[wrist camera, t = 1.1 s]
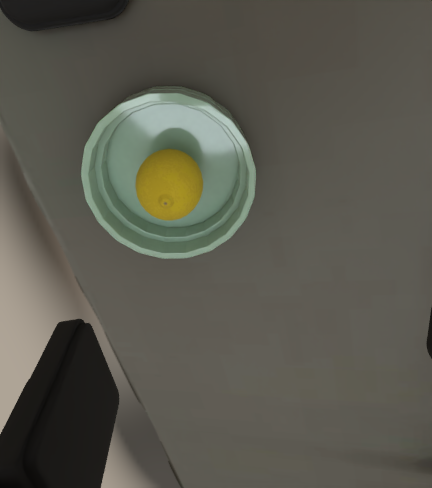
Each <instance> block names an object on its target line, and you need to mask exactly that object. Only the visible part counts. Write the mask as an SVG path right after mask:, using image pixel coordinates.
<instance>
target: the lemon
mask: <svg viewBox="0 0 432 488" xmlns="http://www.w3.org/2000/svg"><path fill="white" fill-rule="evenodd" d="M135 187H136V193H137V197H138V199H139V202H140V204H141V205H142V207H143V208H144V209H145V211H146V212H148V213H149V214H150V215H152V216H153V217H155V218H158V219H161V220H165V221H173V220H177V219H181V218H183V217H185V216H187V215H188V214H189V213H190V212H191V211H192V210H194V208H195V207H196V205H197V204H198V202H199V200H200V198H201V195H202V192H203V178H202V173H201V171H200V168H199V166H198V164H197V163H196V162H195V161H194V160H193V158H192V157H190V156H189V155H188V154H186V153H185V152H182V151H180V150H176V149H163V150H159V151H157V152H154V153H152V154H151V155H150V156H148V157H147V158H146V159H145V160H144V162H143V163H142V164H141V166H140V168H139V170H138V173H137V175H136V184H135Z"/></svg>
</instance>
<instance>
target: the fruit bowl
mask: <svg viewBox="0 0 432 488" xmlns="http://www.w3.org/2000/svg"><path fill="white" fill-rule="evenodd" d="M163 149H176V150H180V151H182V152H185V153H186V154H188V155H189V156H190V157H192V158H193V160H194V161H195V162H196V163H197V164H198V166H199V168H200V171H201V173H202V178H203V192H202V195H201V198H200V200H199V202H198V204H197V205H196V207H195V208H194V210H192V211H191V212H190V213H189V214H188V215H187V216H185V217H183V218H181V219H177V220H173V221H165V220H161V219H158V218H155V217H153V216H152V215H150V214H149V213H148V212H146V211H145V209H144V208H143V207H142V205H141V204H140V202H139V199H138V197H137V193H136V187H135V184H136V175H137V173H138V170H139V168H140V166H141V164H142V163H143V162H144V160H145V159H146V158H147V157H148V156H150V155H151V154H152V153H154V152H157V151H159V150H163ZM81 178H82V183H83V188H84V194H85V199H86V201H87V203H88V205H89V206H90V208H91V210H92V212H93V214H94V216H95V217H96V219H97V221H98V222H99V224H100V225H101V226H102V227H103V228H104V229H105V230H106V231H107V232H108V233H109V234H110V235H112V236H113V237H114V238H115V239H116V240H117V241H118V242H120V243H122V244H124V245H126V246H127V247H129V248H131V249H133V250H135V251H136V252H139V253H142V254H146V255H150V256H154V257H158V258H163V259H170V258H189V257H192V256H196V255H199V254H202V253H206V252H209V251H211V250H213V249H214V248H216V247H217V246H219V245H220V244H222V243H223V242H225V241H227V240H228V239H230V238H231V237H232V235H233V234H234V233H235V232H236V231H237V229H238V228H239V227H240V226H241V225H242V223H243V222H244V221H245V219H246V218H247V215H248V212H249V210H250V207H251V205H252V202H253V200H254V197H255V183H256V169H255V165H254V162H253V158H252V155H251V151H250V148H249V145H248V142H247V140H246V137H245V135H244V132H243V131H242V129H241V128H240V126H239V125H238V123H237V122H236V120H235V119H234V118H233V116H232V115H231V113H230V112H229V111H228V110H227V109H226V108H224V107H223V106H222V105H220V104H219V103H218V102H216V101H215V100H214V99H212V98H211V97H210V96H208V95H207V94H204V93H201V92H198V91H195V90H192V89H189V88H186V87H183V86H182V87H181V86H155V87H151V88H148V89H146V90H143V91H140V92H138V93H135V94H132V95H130V96H128V97H127V98H126V99H125V100H124V101H122V102H121V103H120V104H119V105H118V106H116V107H115V108H114V109H113V110H112V111H111V112H109V113H108V114H107V115H106V116H105V117H104V118H102V119H101V120H100V121H99V122H98V123H97V125H96V127H95V129H94V130H93V132H92V134H91V136H90V138H89V140H88V141H87V143H86V145H85V147H84V154H83V161H82V167H81Z"/></svg>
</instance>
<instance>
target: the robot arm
mask: <svg viewBox="0 0 432 488" xmlns="http://www.w3.org/2000/svg"><path fill="white" fill-rule="evenodd" d="M427 349H428V353H429V355H430V356H431V358H432V308H431V315H430V323H429V330H428V337H427ZM118 405H119V393H118V389H117V387H116V384H115V382H114V379H113V377H112V374H111V372H110V370H109V367H108V365H107V362H106V360H105V357H104V355H103V352H102V350H101V348H100V345H99V343H98V340H97V338H96V335H95V333H94V330H93V328H92V326H91V325H90V324H89V323H84V321H83V320H82V319H76V320H69V321H63V322H59V323H58V324H57V326H56V328H55V330H54V332H53V334H52V336H51V338H50V340H49V342H48V344H47V346H46V348H45V350H44V352H43V354H42V356H41V358H40V360H39V362H38V364H37V366H36V368H35V370H34V372H33V374H32V376H31V378H30V379H29V380H28V382H27V383H26V385H25V387H24V389H23V391H22V393H21V395H20V397H19V399H18V401H17V403H16V405H15V407H14V409H13V411H12V413H11V415H10V417H9V419H8V421H7V423H6V425H5V427H4V429H3V430H2V432H1V434H0V488H101V483H102V478H103V474H104V469H105V465H106V460H107V456H108V451H109V446H110V442H111V437H112V433H113V428H114V423H115V419H116V415H117V410H118Z"/></svg>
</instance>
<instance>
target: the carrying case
mask: <svg viewBox="0 0 432 488" xmlns="http://www.w3.org/2000/svg"><path fill="white" fill-rule="evenodd" d="M128 2H129V0H0V8H1V10H2V12H3V13H4V14H5V16H6V17H7V18H8V19H9V20H10V21H11V22H12V23H13V24H15V25H16V26H18V27H20V28H22V29H25V30H28V31H38V30H45V29H51V28H57V27H64V26H70V25H76V24H83V23H89V22H95V21H102V20H108V19H112V18H115V17H116V16H118V15H119V14H120V13H122V11H123V10H124V9H125V7H126V6H127V4H128Z"/></svg>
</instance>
